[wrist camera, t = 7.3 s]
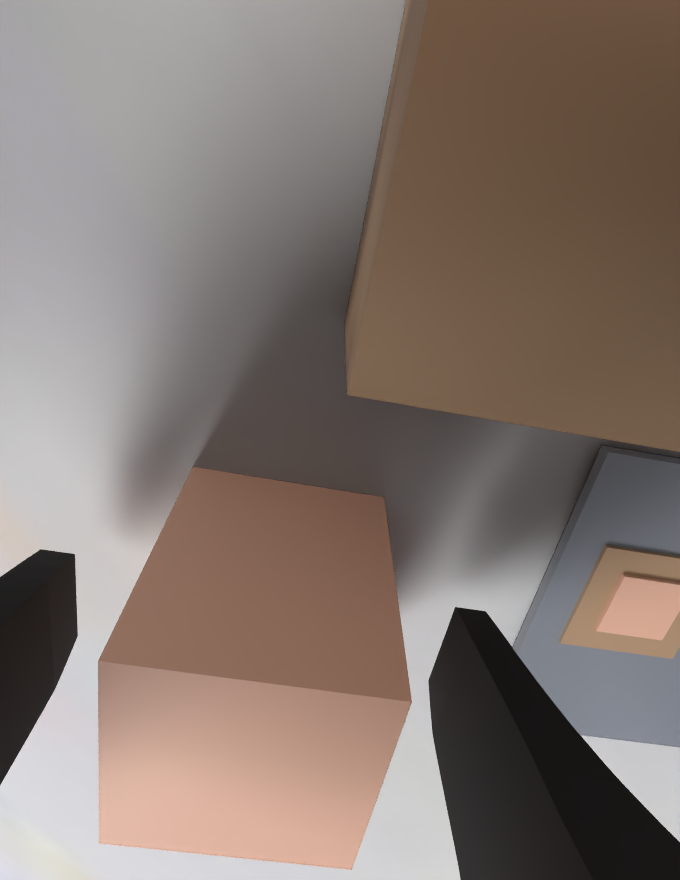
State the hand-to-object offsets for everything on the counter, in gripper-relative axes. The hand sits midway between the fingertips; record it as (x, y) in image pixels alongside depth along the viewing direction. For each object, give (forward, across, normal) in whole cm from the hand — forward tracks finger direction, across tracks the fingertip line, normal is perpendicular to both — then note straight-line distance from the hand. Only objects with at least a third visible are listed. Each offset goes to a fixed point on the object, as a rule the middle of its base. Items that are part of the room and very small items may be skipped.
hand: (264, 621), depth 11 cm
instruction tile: (+2, -9, 0) cm, 9 cm away
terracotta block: (+2, 0, 0) cm, 2 cm away
